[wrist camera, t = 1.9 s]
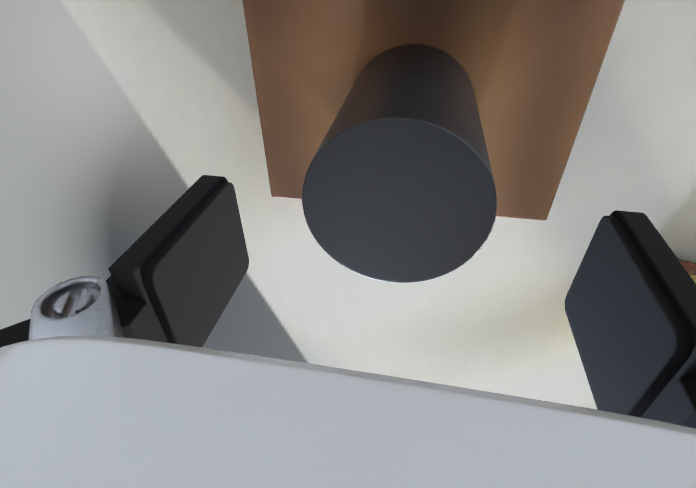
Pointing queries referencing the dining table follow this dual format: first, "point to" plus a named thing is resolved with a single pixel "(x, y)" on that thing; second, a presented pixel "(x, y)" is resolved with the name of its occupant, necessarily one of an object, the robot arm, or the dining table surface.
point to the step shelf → (459, 42)
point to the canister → (403, 171)
